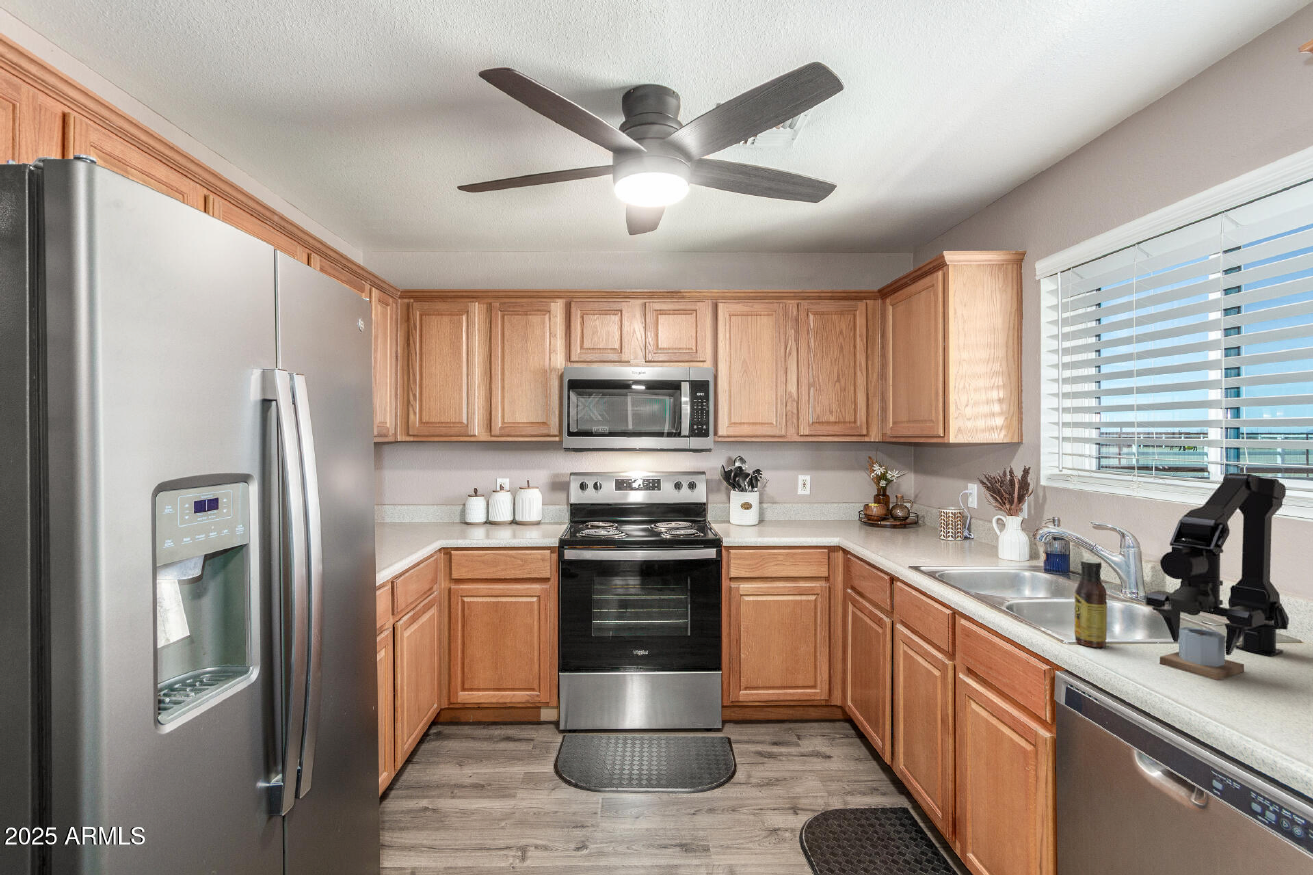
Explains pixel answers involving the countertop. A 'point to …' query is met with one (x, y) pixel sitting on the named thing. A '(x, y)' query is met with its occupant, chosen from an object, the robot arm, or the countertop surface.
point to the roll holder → (1202, 666)
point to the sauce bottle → (1090, 606)
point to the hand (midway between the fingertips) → (1201, 648)
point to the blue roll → (1202, 646)
